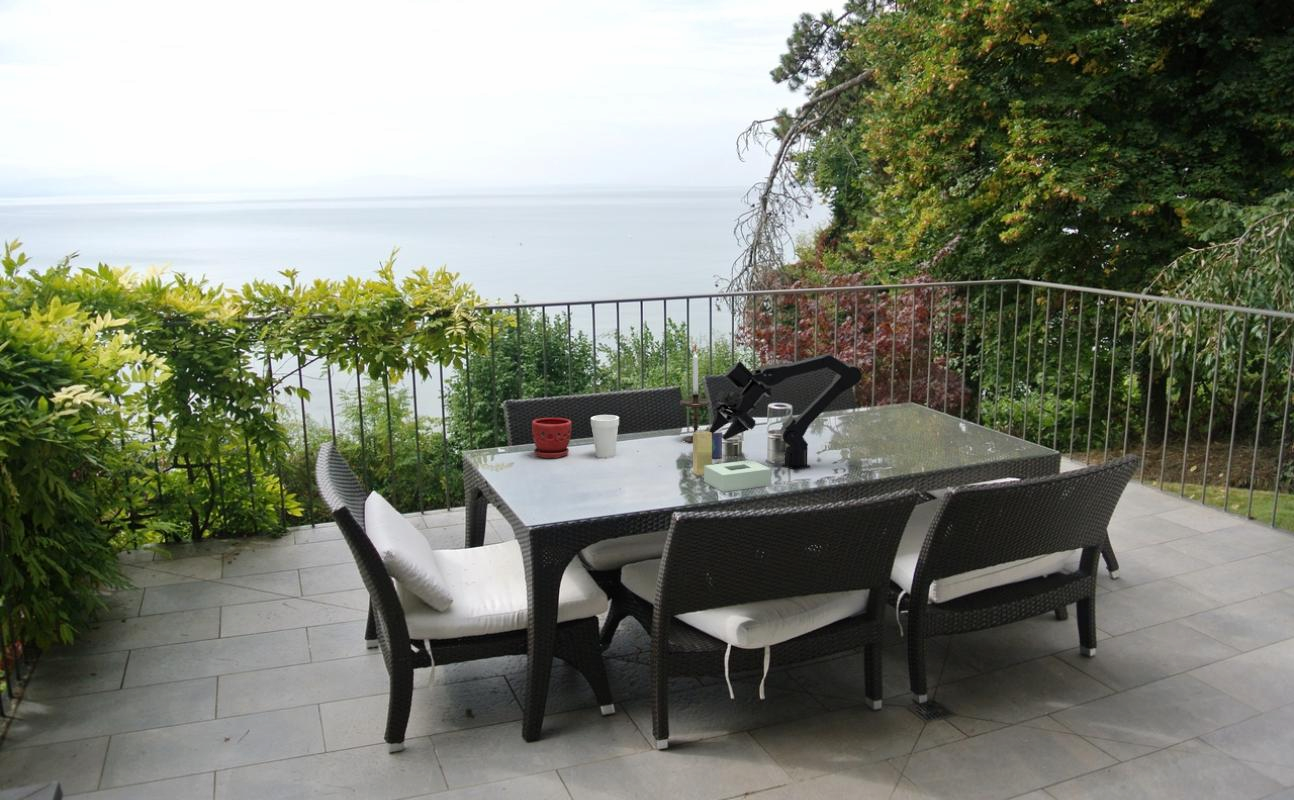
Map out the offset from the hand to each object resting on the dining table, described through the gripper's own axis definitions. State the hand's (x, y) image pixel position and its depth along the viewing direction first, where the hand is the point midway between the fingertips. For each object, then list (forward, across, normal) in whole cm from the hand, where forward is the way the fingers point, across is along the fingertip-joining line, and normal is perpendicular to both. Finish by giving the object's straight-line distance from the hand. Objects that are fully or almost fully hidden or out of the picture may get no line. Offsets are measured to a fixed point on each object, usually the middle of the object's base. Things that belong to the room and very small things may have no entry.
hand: (716, 435), depth 295 cm
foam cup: (+26, -34, -9) cm, 44 cm away
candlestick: (0, -41, +17) cm, 44 cm away
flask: (+4, -17, +12) cm, 21 cm away
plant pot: (+37, -43, -20) cm, 60 cm away
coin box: (+8, +15, +8) cm, 19 cm away
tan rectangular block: (+12, 0, +5) cm, 13 cm away
